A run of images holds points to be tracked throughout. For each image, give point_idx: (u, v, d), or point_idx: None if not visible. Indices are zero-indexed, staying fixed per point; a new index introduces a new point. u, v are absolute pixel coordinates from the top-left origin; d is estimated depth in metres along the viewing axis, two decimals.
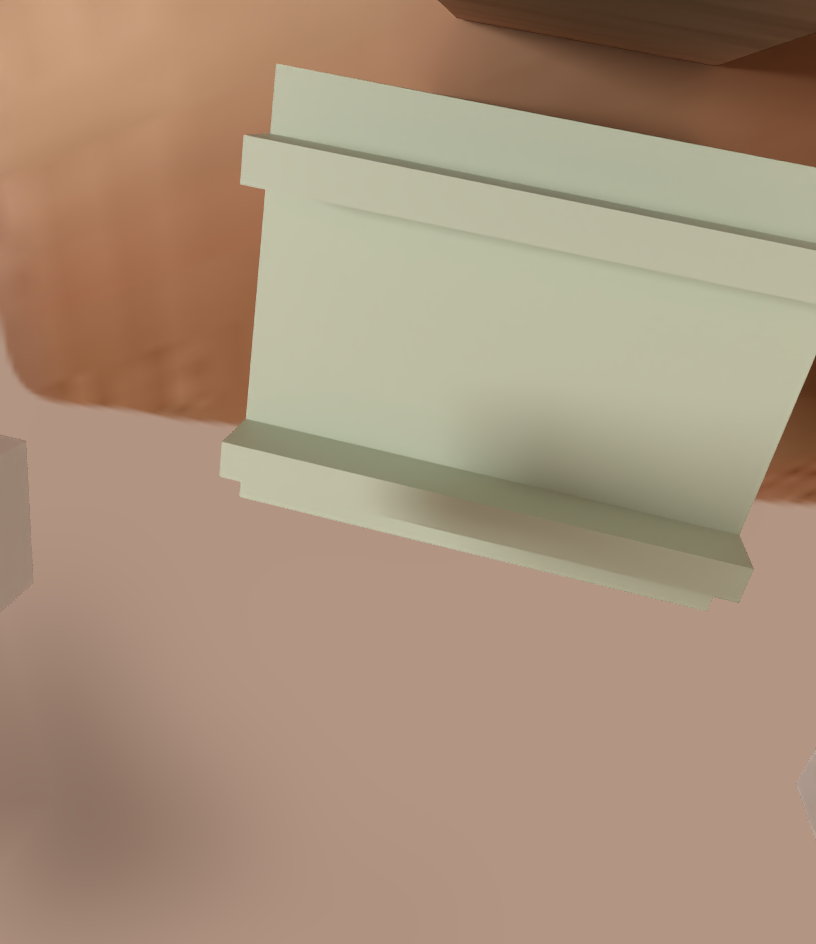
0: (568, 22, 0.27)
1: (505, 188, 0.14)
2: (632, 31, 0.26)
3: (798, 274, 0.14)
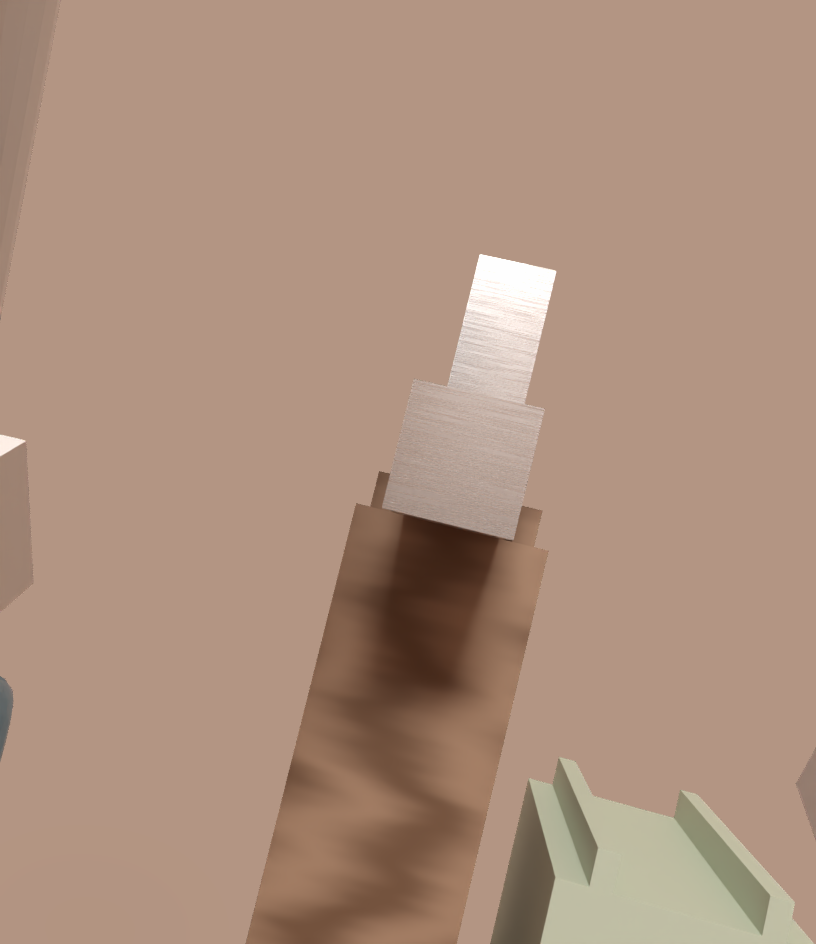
0: None
1: (578, 801, 0.34)
2: None
3: (571, 767, 0.40)
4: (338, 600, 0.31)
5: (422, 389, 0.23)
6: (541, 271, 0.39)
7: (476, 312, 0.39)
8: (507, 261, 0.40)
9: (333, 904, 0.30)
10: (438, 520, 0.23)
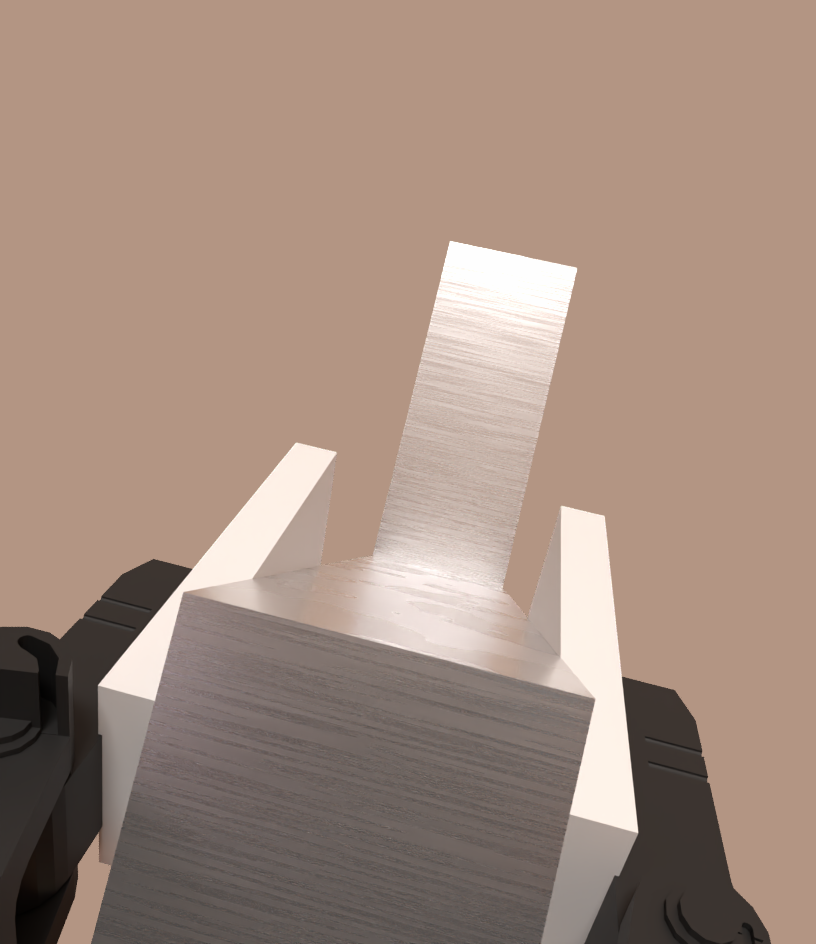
0: None
1: None
2: None
3: None
4: None
5: (209, 625, 0.07)
6: (552, 269, 0.24)
7: (444, 338, 0.24)
8: (496, 253, 0.24)
9: None
10: None
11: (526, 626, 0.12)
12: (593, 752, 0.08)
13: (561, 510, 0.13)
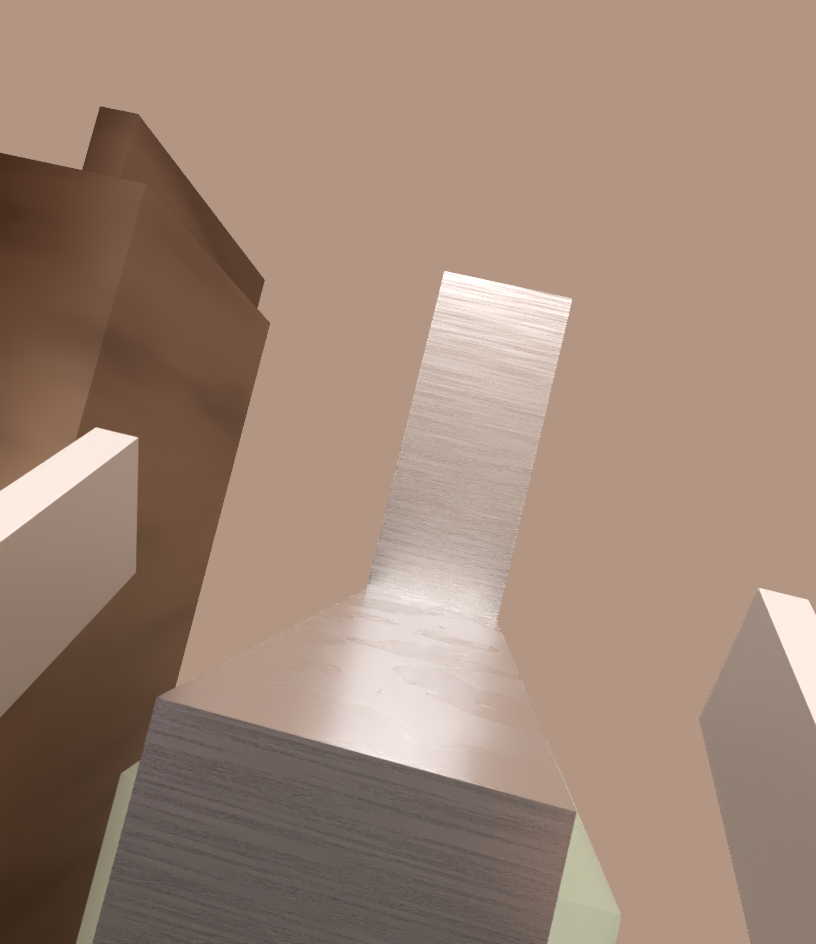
0: None
1: None
2: None
3: None
4: None
5: (182, 733, 0.07)
6: (546, 299, 0.24)
7: (438, 369, 0.24)
8: (491, 283, 0.24)
9: None
10: None
11: (515, 688, 0.12)
12: None
13: (760, 594, 0.12)
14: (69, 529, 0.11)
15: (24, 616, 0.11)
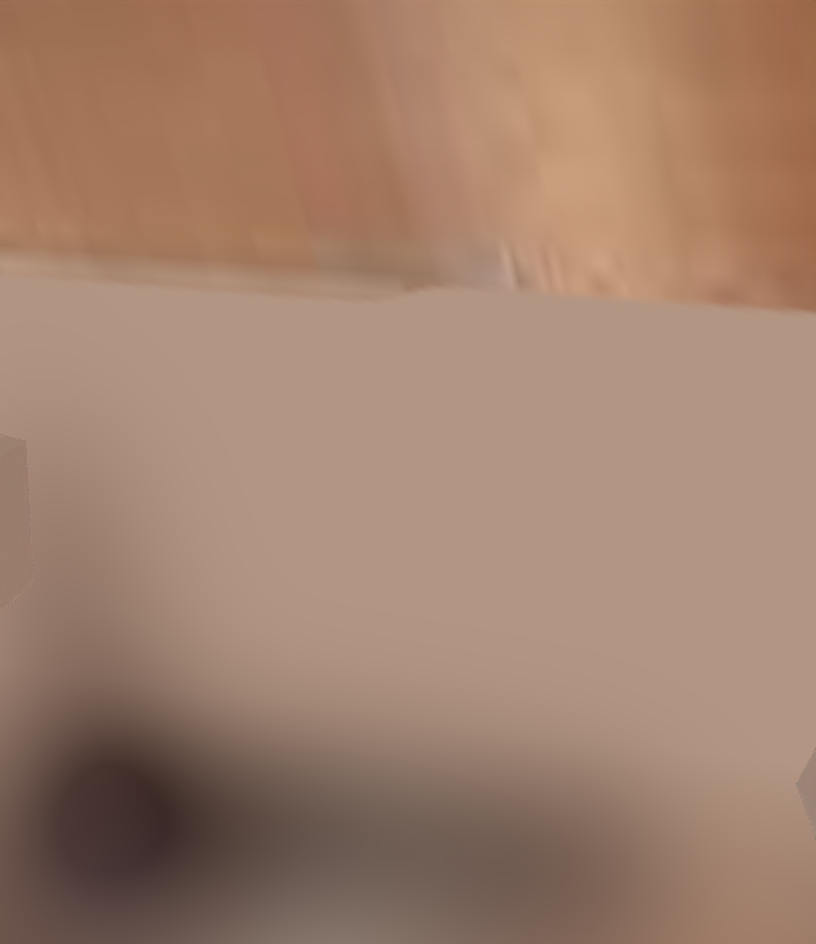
0: None
1: None
2: None
3: None
4: None
5: None
6: None
7: None
8: None
9: None
10: None
11: None
12: None
13: None
14: None
15: None
